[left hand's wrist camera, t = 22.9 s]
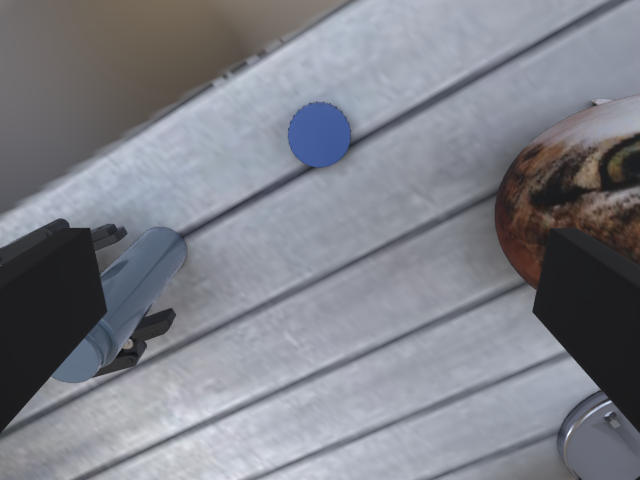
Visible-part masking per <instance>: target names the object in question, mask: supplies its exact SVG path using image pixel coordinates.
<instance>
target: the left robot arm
mask: <svg viewBox="0 0 640 480" xmlns="http://www.w3.org/2000/svg"><path fill="white" fill-rule="evenodd" d="M107 312H108V311H107V306H106V302H105V297H104V292H103V288H102V283H101V278H100V273H99V269H98V264H97V259H96V255H95V250H94V245H93V240H92V236H91V231H90V228H62V229H60V230H59V231H57V232H56V233H54V234H52V235H51V236H49V237H47V238H46V239H44V240H42V241H41V242H39V243H37V244H36V245H34V246H33V247H31V248H29V249H28V250H26V251H24V252H23V253H21V254H19V255H18V256H16V257H14V258H13V259H11V260H10V261H8V262H6V263H5V264H3V265H1V266H0V433H1V432H2V431H3V430H4V429H5V427H6V426H7V425H8V424H9V423H10V422H11V421H12V419H13V418H14V417H15V416H16V415H17V414H18V413H19V412H20V410H21V409H22V408H23V407H24V406H25V405H26V404H27V403H28V401H29V400H30V399H31V398H32V397H33V396H34V395H35V393H36V392H37V391H38V390H39V389H40V388H41V387H42V386H43V384H44V383H45V382H46V381H47V380H48V379H49V378H50V376H51V375H52V374H53V373H54V372H55V371H56V370H57V369H58V367H59V366H60V365H61V364H62V363H63V362H64V361H65V360H66V358H67V357H68V356H69V355H70V354H71V353H72V352H73V350H74V349H75V348H76V347H77V346H78V345H79V344H80V343H81V341H82V340H83V339H84V338H85V337H86V336H87V335H88V334H89V332H90V331H91V330H92V329H93V328H94V327H95V326H96V324H97V323H98V322H99V321H100V320H101V319H102V318H103V317H104V315H105V314H106V313H107ZM532 312H533V313H534V314H535V315H536V317H537V318H538V319H539V320H540V321H541V322H542V323H543V324H544V326H545V327H546V328H547V329H548V330H549V331H550V332H551V334H552V335H553V336H554V337H555V338H556V339H557V340H558V341H559V343H560V344H561V345H562V346H563V347H564V348H565V349H566V350H567V352H568V353H569V354H570V355H571V356H572V357H573V358H574V360H575V361H576V362H577V363H578V364H579V365H580V366H581V367H582V369H583V370H584V371H585V372H586V373H587V374H588V375H589V376H590V378H591V379H592V380H593V381H594V382H595V383H596V384H597V386H598V387H599V388H600V389H601V390H602V391H601V392H599V393H597V394H595V395H593V396H591V397H590V398H588V399H586V400H585V401H584V402H582V403H581V404H580V405H579V406H577V407H576V408H575V409H574V410H573V411H572V412H571V414H570V415H569V416H568V417H567V419H566V420H565V422H564V424H563V425H562V428H561V430H560V433H559V438H558V449H559V453H560V456H561V458H562V460H563V461H564V463H565V464H566V466H567V468H568V469H569V471H570V472H571V474H572V475H573V476H574V477H575V478H576V479H577V480H640V266H639V265H637V264H635V263H634V262H632V261H630V260H629V259H627V258H626V257H624V256H622V255H621V254H619V253H617V252H616V251H614V250H612V249H611V248H609V247H607V246H606V245H604V244H603V243H601V242H599V241H598V240H596V239H594V238H593V237H591V236H589V235H588V234H586V233H584V232H583V231H581V230H580V229H578V228H550V231H549V236H548V240H547V245H546V250H545V255H544V259H543V264H542V269H541V273H540V278H539V283H538V288H537V292H536V297H535V302H534V306H533V311H532Z"/></svg>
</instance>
